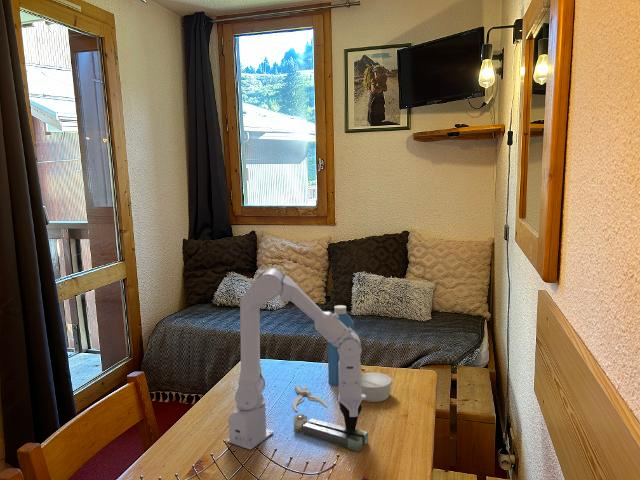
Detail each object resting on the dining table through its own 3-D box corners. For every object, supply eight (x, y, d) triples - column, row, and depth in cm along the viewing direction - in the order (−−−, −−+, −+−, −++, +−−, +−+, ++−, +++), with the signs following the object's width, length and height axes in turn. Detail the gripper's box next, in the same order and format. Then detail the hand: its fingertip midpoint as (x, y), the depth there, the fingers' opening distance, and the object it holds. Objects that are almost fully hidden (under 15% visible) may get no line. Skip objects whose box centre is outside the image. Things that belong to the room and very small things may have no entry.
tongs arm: (364, 445, 118) (364, 435, 117) (308, 429, 126) (308, 420, 125) (368, 441, 119) (367, 431, 119) (312, 426, 127) (311, 417, 127)
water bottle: (348, 373, 163) (347, 302, 161) (360, 383, 155) (359, 308, 152) (323, 377, 160) (321, 305, 157) (334, 388, 151) (332, 311, 149)
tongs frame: (358, 452, 115) (358, 438, 114) (290, 431, 126) (289, 418, 125) (366, 444, 118) (366, 430, 118) (298, 425, 129) (298, 411, 129)
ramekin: (353, 403, 141) (353, 386, 141) (357, 387, 152) (357, 371, 152) (391, 405, 139) (391, 388, 139) (392, 389, 150) (392, 373, 150)
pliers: (294, 407, 136) (284, 387, 151) (294, 413, 137) (285, 391, 151) (327, 403, 139) (315, 383, 153) (328, 408, 139) (315, 387, 153)
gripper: (370, 391, 114) (370, 444, 116) (361, 368, 129) (362, 416, 130) (340, 392, 114) (341, 446, 115) (335, 369, 128) (336, 417, 130)
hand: (350, 430), depth 123 cm, fingers closed
